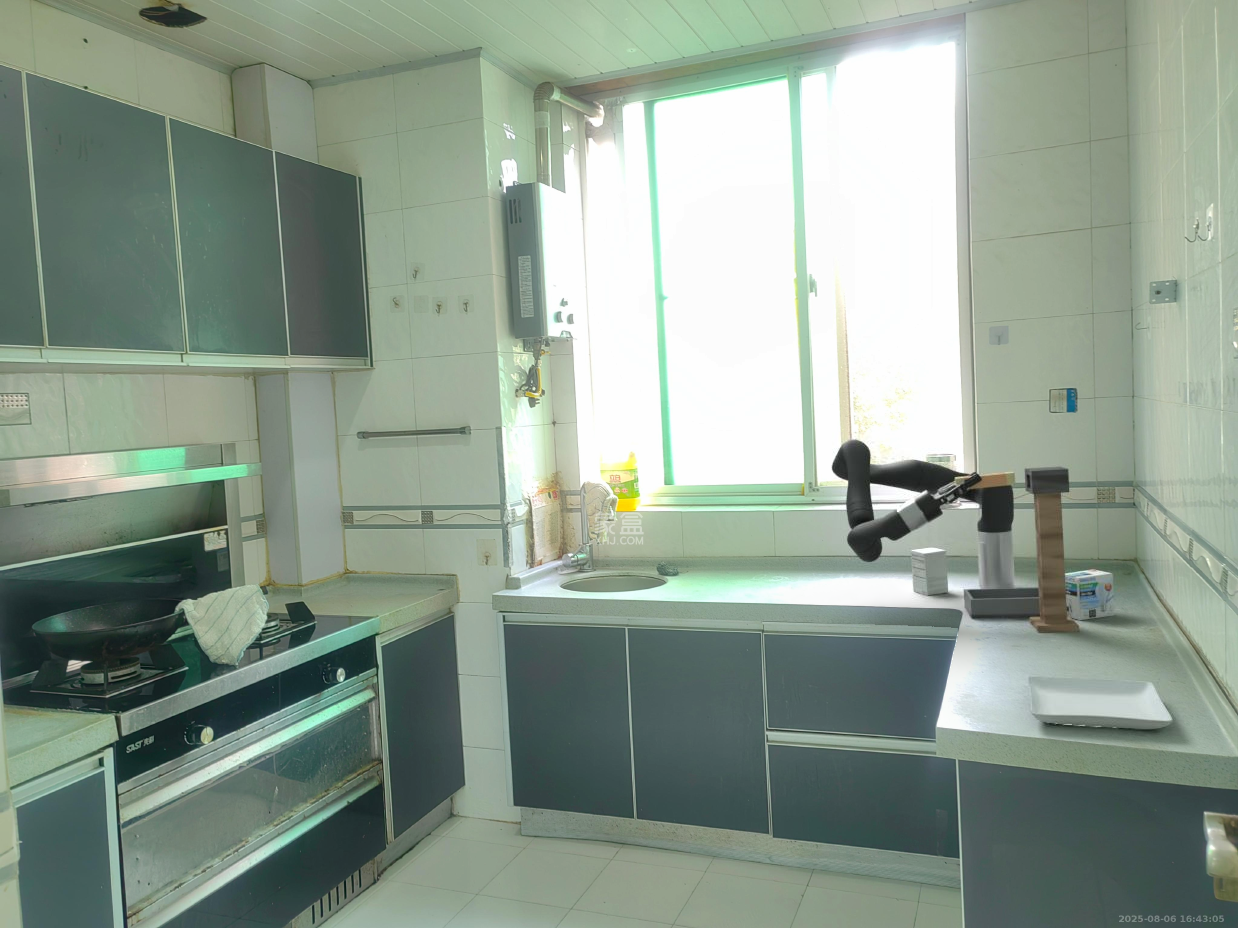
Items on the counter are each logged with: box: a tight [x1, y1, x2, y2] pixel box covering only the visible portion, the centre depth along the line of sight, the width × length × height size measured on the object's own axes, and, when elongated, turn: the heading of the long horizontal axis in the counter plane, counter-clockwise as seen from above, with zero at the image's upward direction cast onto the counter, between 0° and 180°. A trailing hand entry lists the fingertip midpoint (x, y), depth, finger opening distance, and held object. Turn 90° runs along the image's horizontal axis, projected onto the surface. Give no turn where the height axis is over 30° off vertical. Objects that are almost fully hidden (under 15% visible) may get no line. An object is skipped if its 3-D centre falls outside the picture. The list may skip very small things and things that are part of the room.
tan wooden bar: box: [955, 471, 1017, 490], centre depth 231 cm, size 3×14×3 cm, turn 76°
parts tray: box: [963, 586, 1040, 620], centre depth 235 cm, size 13×20×5 cm, turn 77°
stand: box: [1024, 466, 1080, 633], centre depth 216 cm, size 9×9×38 cm
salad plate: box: [1025, 675, 1173, 730], centre depth 160 cm, size 21×21×3 cm
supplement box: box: [910, 547, 949, 596], centre depth 265 cm, size 7×7×13 cm
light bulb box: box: [1065, 569, 1115, 621], centre depth 225 cm, size 11×7×11 cm, turn 105°
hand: (978, 475), depth 231 cm, fingers closed on tan wooden bar, 3 cm apart
